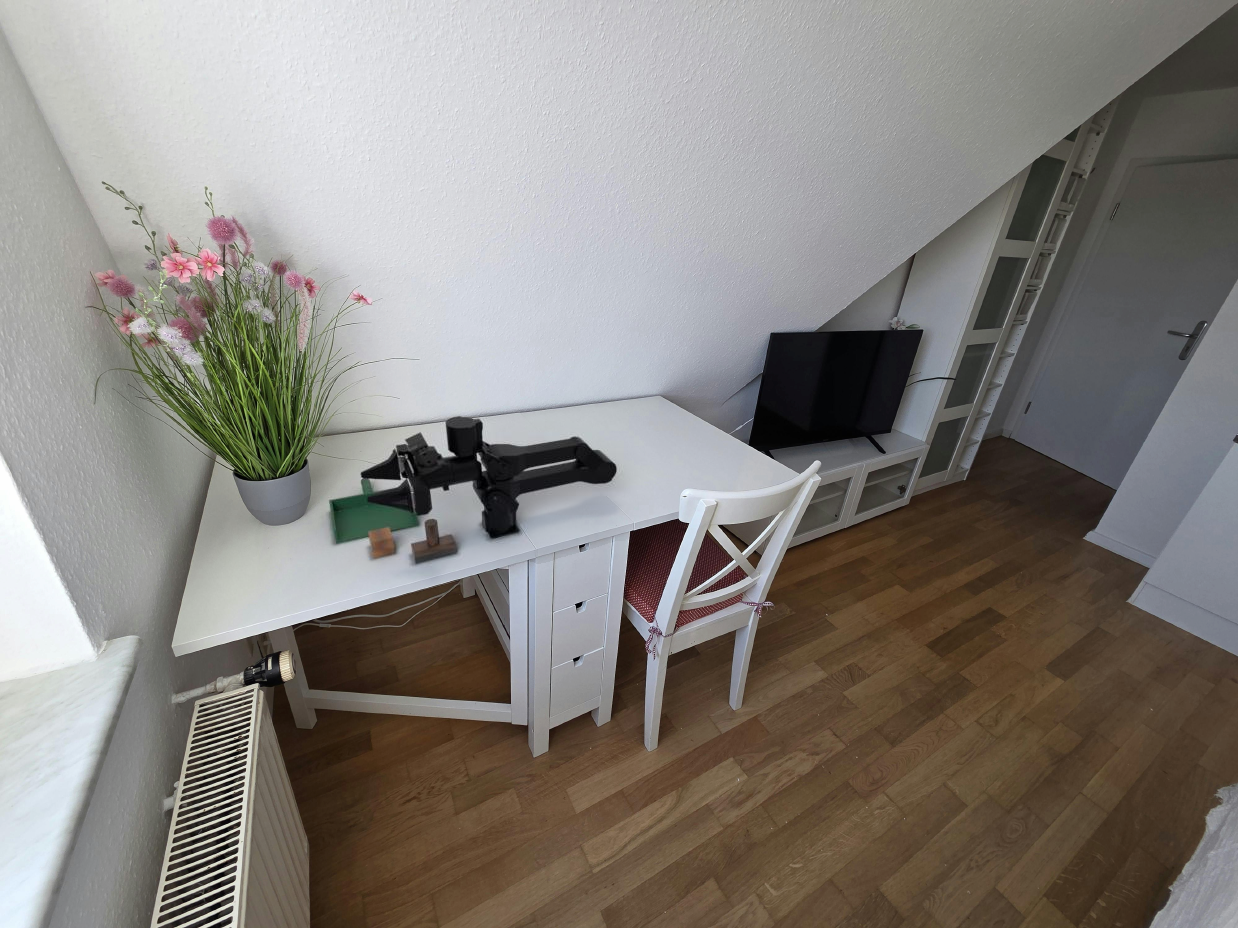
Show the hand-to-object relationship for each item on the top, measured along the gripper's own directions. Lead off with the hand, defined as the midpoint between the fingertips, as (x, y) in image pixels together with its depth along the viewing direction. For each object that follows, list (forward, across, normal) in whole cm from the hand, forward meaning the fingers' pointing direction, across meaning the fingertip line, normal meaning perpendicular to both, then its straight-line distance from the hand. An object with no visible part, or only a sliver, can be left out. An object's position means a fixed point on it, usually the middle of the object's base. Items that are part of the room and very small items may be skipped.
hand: (363, 486), depth 94 cm
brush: (-10, +4, +17) cm, 20 cm away
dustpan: (-1, -19, +17) cm, 25 cm away
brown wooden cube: (-1, -2, +17) cm, 17 cm away
